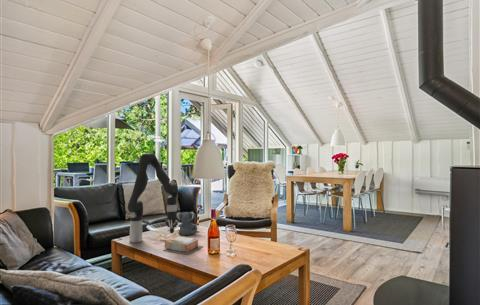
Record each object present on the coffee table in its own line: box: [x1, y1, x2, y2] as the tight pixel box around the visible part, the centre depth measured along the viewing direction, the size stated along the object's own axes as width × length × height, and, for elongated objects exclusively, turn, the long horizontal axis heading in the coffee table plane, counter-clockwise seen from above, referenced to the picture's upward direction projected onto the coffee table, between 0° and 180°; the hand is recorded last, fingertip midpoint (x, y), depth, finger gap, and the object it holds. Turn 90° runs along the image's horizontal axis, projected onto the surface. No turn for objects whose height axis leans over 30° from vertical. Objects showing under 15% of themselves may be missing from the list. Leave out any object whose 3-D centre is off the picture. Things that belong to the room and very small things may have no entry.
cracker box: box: [164, 236, 199, 252], centre depth 229 cm, size 14×6×21 cm
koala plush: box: [176, 211, 198, 236], centre depth 273 cm, size 17×18×20 cm
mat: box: [163, 245, 204, 256], centre depth 228 cm, size 22×20×1 cm
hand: (171, 232), depth 233 cm, fingers closed
